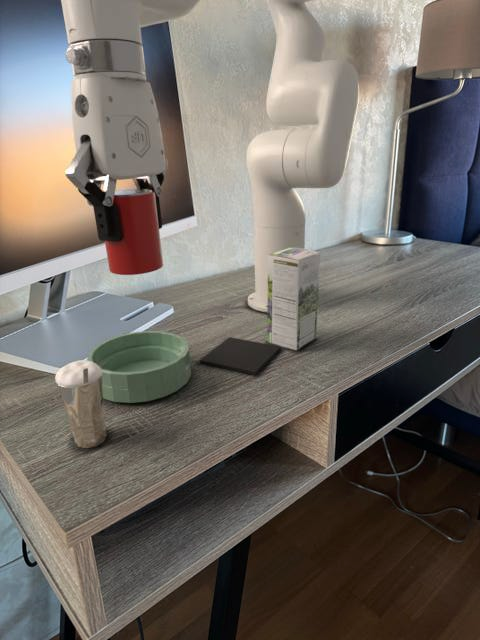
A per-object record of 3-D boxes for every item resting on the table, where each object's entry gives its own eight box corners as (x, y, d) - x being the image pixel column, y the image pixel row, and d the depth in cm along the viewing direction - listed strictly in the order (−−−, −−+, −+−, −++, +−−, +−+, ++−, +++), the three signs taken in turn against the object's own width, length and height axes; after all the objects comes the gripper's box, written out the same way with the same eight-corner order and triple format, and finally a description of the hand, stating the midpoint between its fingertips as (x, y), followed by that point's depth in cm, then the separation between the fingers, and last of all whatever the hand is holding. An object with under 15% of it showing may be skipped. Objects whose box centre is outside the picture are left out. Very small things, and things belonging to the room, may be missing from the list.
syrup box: (286, 331, 75) (287, 246, 69) (317, 339, 71) (320, 250, 66) (266, 342, 71) (265, 253, 65) (298, 352, 67) (299, 258, 62)
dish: (136, 352, 69) (133, 325, 68) (209, 368, 63) (207, 339, 62) (71, 392, 58) (65, 361, 57) (151, 416, 53) (146, 383, 51)
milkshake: (79, 462, 45) (61, 375, 42) (64, 437, 49) (46, 356, 46) (121, 445, 48) (108, 361, 44) (104, 422, 52) (90, 344, 48)
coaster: (229, 339, 72) (229, 337, 72) (280, 349, 68) (280, 346, 68) (200, 363, 65) (199, 360, 65) (255, 375, 61) (255, 372, 61)
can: (133, 258, 60) (123, 188, 56) (173, 263, 57) (165, 188, 53) (98, 272, 55) (84, 195, 51) (140, 277, 52) (129, 196, 48)
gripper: (71, 51, 39) (104, 253, 45) (184, 71, 53) (196, 222, 59) (14, 62, 42) (53, 248, 49) (135, 77, 56) (152, 220, 63)
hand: (131, 232), depth 54 cm, fingers closed on can, 6 cm apart
